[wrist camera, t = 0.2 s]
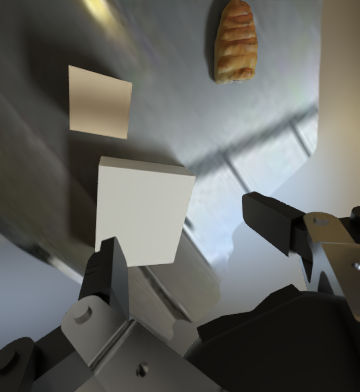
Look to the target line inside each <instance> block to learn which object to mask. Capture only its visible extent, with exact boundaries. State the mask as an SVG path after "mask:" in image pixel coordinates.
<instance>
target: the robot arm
mask: <svg viewBox="0 0 360 392" xmlns="http://www.w3.org/2000/svg"><path fill="white" fill-rule="evenodd" d="M242 209H243V219H244V221H245V223H246V224H247V225H248V226H249V227H250V228H252V229H253V230H255V231H256V232H257V233H258V234H259V235H261V236H262V237H263V238H265V239H266V240H267V241H268V242H270V243H271V244H272V245H273V246H275V247H276V248H277V249H279V250H280V251H281V252H282V253H284V254H285V255H286V256H288V257H290V256H293V255H295V254H298V255H300V256H299V262H300V266H301V269H302V273H303V276H304V280H305V284H306V287H307V291H299V290H298V289H297V288H296V287H295V286H294V285H292V284H290V285H288V286H286V287H284V288H282V289H280V290H277V291H275V292H273V293H271V294H270V295H269V296H268V297H266V298H265V299H264V300H263V301H262V302H261V303H260V304H259V305H258V306H257V307H256V308H255V309H254V310H252V311H250V312H244V313H238V314H231V315H225V316H221V317H219V318H217V319H214V320H212V321H210V322H208V323H206V324H204V325H201V326H199V327H197V331H198V335H199V338H198V339H197V340H196V341H195V342H194V343H193V344H192V345H191V346H190V347H189V349H188V350H187V352H186V353H185V355H184V357H182V356H181V355H179V354H178V353H177V352H175V351H174V350H173V349H171V348H170V347H168V345H166V344H165V343H164V342H163V341H161V340H160V339H159V338H158V337H156V336H155V335H154V334H152V333H151V332H150V331H149V330H147V329H146V328H145V327H144V326H142V325H141V324H140V323H138V322H137V321H136V320H134V319H131V320H129V294H128V268H127V262H126V259H125V256H124V254H123V251H122V249H121V246H120V244H119V242H118V239H117V237H116V236H114V237H111V238H108V239H105V240H102V241H101V246H100V251H98V252H95V253H93V255H92V256H91V257H90V259H89V260H88V263H87V267H86V271H85V276H84V279H83V283H82V287H81V290H80V294H79V299H78V301H77V302H76V303H75V304H73V305H72V306H71V307H70V308H69V310H68V311H67V312H66V313H65V315H64V317H63V319H62V322H61V325H60V326H59V327H58V328H56V329H55V330H53V331H52V332H50V333H49V334H47V335H46V336H44V337H43V338H41V339H40V340H38V341H37V342H34V341H33V340H32V339H31V338H29V337H23V338H19V339H17V340H15V341H13V342H11V343H9V344H8V345H6V346H5V347H4V348H3V349H1V350H0V392H74V391H76V390H77V389H78V388H79V387H80V386H81V385H83V384H84V383H85V382H86V381H87V380H89V379H90V378H91V377H92V376H93V375H95V376H96V377H97V379H98V380H99V381H100V383H101V384H102V385H103V387H104V388H105V389H106V391H107V392H360V206H357V207H354V208H353V209H352V212H351V216H350V217H345V218H337V217H335V216H333V215H331V214H328V213H323V212H311V213H307V214H306V213H304V212H302V211H300V210H298V209H296V208H294V207H291V206H289V205H286V204H285V203H283V202H280V201H279V200H277V199H274V198H271V197H267V196H264V195H262V194H260V193H258V192H255V191H254V192H251V193H248V194H244V195H243V196H242Z"/></svg>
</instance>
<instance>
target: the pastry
mask: <svg viewBox="0 0 360 392" xmlns="http://www.w3.org/2000/svg"><path fill="white" fill-rule="evenodd" d="M214 47H215V51H214V79H215V82H216V83H217V84H227V83H232V82H236V83H244V82H246V81H248V80H250V79H252V78H253V76H254V75H255V66H256V62H257V48H258V42H257V35H256V32H255V25H254V21H253V15H252V13H251V10H250V6H249V5H248V4H247V3H246V2H244V1H241V0H231V1H230V2H229V3H228V4H227V6H226V7H225V8H224V10H223V11H222V15H221V19H220V25H219V27H218V31H217V37H216V40H215V42H214Z"/></svg>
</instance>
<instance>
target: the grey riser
mask: <svg viewBox="0 0 360 392" xmlns="http://www.w3.org/2000/svg"><path fill="white" fill-rule="evenodd" d="M195 178H196V176H195V175H194V174H193V173H191V172H190V171H189V170H188V169H187V168H186V167H182V166H174V165H166V164H159V163H151V162H144V161H136V160H128V159H121V158H113V157H106V156H101V158H100V163H99V175H98V197H97V220H96V243H95V252H98V251H100V246H101V241H102V240H105V239H108V238H111V237H114V236H116V237H117V239H118V242H119V244H120V246H121V249H122V251H123V254H124V256H125V259H126V262H127V267H129V266H142V265H154V264H166V263H173V262H174V258H175V254H176V250H177V246H178V243H179V239H180V235H181V231H182V228H183V224H184V220H185V216H186V212H187V209H188V205H189V201H190V197H191V194H192V190H193V186H194V182H195Z"/></svg>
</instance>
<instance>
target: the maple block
mask: <svg viewBox="0 0 360 392" xmlns="http://www.w3.org/2000/svg"><path fill="white" fill-rule="evenodd" d="M131 90H132V83H129V82H126V81H122V80H119V79H115V78H112V77H108V76H105V75H101V74H98V73H94V72H91V71H87V70H84V69H80V68H77V67H73V66H70V65H69V100H70V130H76V131H82V132H88V133H93V134H99V135H105V136H111V137H117V138H123V139H127V130H128V120H129V110H130V100H131Z"/></svg>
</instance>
